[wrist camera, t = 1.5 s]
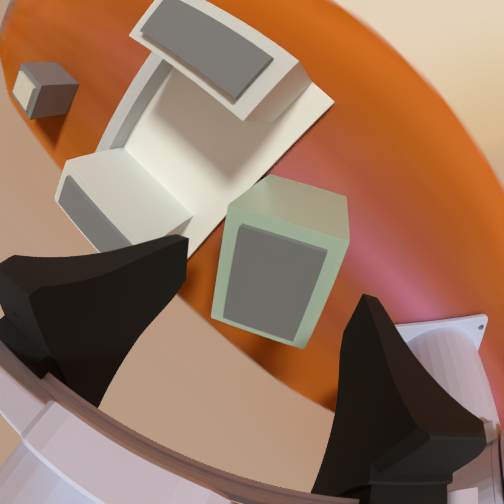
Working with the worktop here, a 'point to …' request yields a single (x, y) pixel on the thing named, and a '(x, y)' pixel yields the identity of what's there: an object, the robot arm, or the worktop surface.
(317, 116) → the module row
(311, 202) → the green module
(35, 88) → the block
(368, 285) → the worktop surface
